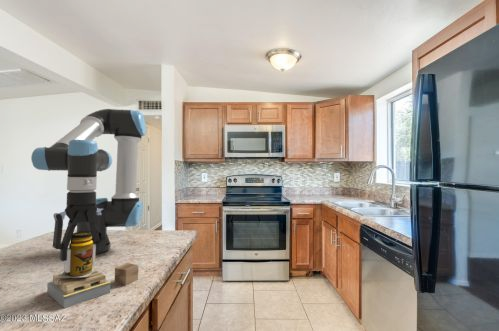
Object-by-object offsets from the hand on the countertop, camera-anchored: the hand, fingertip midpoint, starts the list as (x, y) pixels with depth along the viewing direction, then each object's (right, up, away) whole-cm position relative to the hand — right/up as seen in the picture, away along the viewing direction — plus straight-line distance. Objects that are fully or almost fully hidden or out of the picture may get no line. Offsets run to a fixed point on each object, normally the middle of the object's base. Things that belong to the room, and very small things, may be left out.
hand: (79, 267), depth 79 cm
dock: (0, -7, 0) cm, 7 cm away
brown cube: (+10, -8, +8) cm, 15 cm away
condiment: (0, -2, 0) cm, 2 cm away
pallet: (0, -4, 0) cm, 4 cm away
